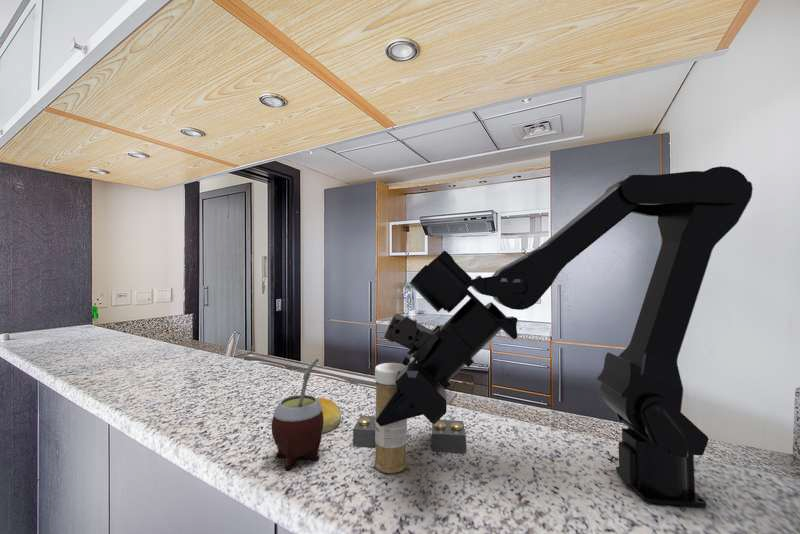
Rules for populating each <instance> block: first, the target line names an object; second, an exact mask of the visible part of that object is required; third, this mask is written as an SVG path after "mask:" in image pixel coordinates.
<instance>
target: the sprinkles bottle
mask: <svg viewBox="0 0 800 534" xmlns="http://www.w3.org/2000/svg"><path fill="white" fill-rule="evenodd" d="M405 367H406V365H404V364H403V363H399V362H385V363H380V364H377V365H376V366H375V369H374V380H375V384H376V385H375V386H376V388H375V412H374V413H375V415H374V416H375V442H376V447H374V448H375V455H374V457H375V458H374V467H375V468H376V469H377V470H378V471H379V472H381V473H384V474H397V473H400V472H402V471H403V470H405V469H406V468H407V465H408V459H407V440H408V437H407V435H408V426H407V425H408V419H405V420H401V421H398V422H395V423H391V424H388V425H385V426H380V425H379V424H378V423H377V422H376V418H377V417H378V416H379V414H380V413H381V411H382V410H383V408H384V407H385V406H386V404H387V403H388V401H389V400H390V399H391V397H392V396H393V394H394V393H395V392H396V390H397V385H396V383H395V381H396V377H397V374H398V372H399V371H400V372H401V371H402V370H403V369H404V368H405Z"/></svg>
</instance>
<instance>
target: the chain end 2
mask: <svg viewBox="0 0 800 534" xmlns="http://www.w3.org/2000/svg"><path fill="white" fill-rule="evenodd" d="M465 428H466V427H465V422H464V421H463V420H452V419H439V420H438V421H437V422H436V423H435V424H433V423H431V451H432V452H443V453H444V452H446V453H462V454H463V453H465V454H467V434H466V429H465Z"/></svg>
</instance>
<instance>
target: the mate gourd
mask: <svg viewBox="0 0 800 534" xmlns="http://www.w3.org/2000/svg"><path fill="white" fill-rule="evenodd" d="M319 361H320V359H319V358H317V359H315V360H314V361H312V362H311V363H310V364H309V366H308V367H307V369H306V370H305V371H304V373H303V377H302V378H303V381H302V386H301V391H300V394H299V395H291V396H289V397H286V398H284V399H282V400H280V402H278V404H277V406H275V410H274V412H273V415H272V416H273V417H272V420H271V434H272V439H273V441H274V443H275V446H276V447H277V453H276V454H275V458H276V459H281V460H286V465H285V466H284V471H285V472H291V470H293V469H294V467H295V466H296V465H297V463H298V462H301V461H303V462H319V460H320V455H318V454H319V453H318V452H319V448H320V446H321V443H322V442H321V441H322V434H323V433H322V430H323V423H324V420H323V411H322V405H321V404H320V402H319V401H318V399H317V397H315V396H312V395H310V394H306V391H307V385H308V382H309V379H310V376H311V371H312V370H313V368H314V367H315V365H316V364H317V363H318V362H319ZM305 394H306V395H305Z"/></svg>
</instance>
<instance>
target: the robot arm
mask: <svg viewBox="0 0 800 534" xmlns="http://www.w3.org/2000/svg"><path fill="white" fill-rule="evenodd" d="M752 198H753V183H752V182H751V180H750V181H748V179H747V177H746V176H745V175H744V173H742V172H740V171H739V170H738V169H735V168H732V167H730V166H721V165H720V166H715V167H711V168H708V169H707V170H703V171H702V170H701V171H700V170H693V171H691V170H690V171H682V172H673V173H664V174H630V175H627V176H625V177H624V178H622V179H620V180H618V181H617V182H615V183H613V184H612V185H610V186H609V187H608V188H607V189H606V190H605V191H604V193H603V194H602V195H601V196H599V197H598V198H597V199H595V200H594V201H593V202H592V203H591V204H589V206H587V207H586V208H585V209H584V210H582V211H581V212H580V213H578V214H577V215H576V216H575V217H574V218H572V219H571V220H570V221H569V222H568V223H567V224H565V225H564V226H563V227H562V228H560V229H559V230H558V231H557V232H556V233H554V234H553V235H552V236H551V237H549V238H548V239H547V240H546V241H544V242H543V243H542V244H541V245H540V246H538V247H537V248H534V249H533V250H531V251H529V252H527V253H526V254H524V255H522V256H520V257H519V258H516V259H515V260H513V261H511V262H509V263H507V264H506V265H503V266H502V267H500V268H498V269H497V270H495V272H494V273H493V274H492V275H491V276H486V277H485V276H484V277H482V275H477V276H476V277H475V278H472V277H471V276H470V275H469V274H468V273H467V272H466V271H465V270H464V269H463V268H462V267H461V266H460V265H459V264H458V263H457V262H456V261H455V259H454V258H453V257H452V255H451V254H450V253H449V252H448V251H446V250H443V251H442V252H441V253H440V254H439V255H438V256H436V257H435V258H433V260H432V261H431V262H429V263H428V265H427V264H425V265H424V266H423V267H422V268H421V269H420V270H419V271H418V272H417V274H415V276H414V277H412V279H411V281H409V285H410V286H411V287H412V288H413V289H414V290H416V292H417V293H418V294H419V295H420V296H421V297H422V299H424V300H425V301H426V302H427V303H428V304H429V305H430V306H431V307H432V308H433V310H435V311H436V312H437V313H439V312H440V311H441V310H443V311H446V312H447V313H449V314H450V313H451V312H452V311H453V310H455V309H456V307H457V306H458V305H460V303H462V301H463V300H464V299H465V298H467V297H469V299H468V300H467V301H466V302H465V304H463V305H462V306H461V307H460V308H459V309H458V310H457V311H456V312H455V313H453V315H452V316H451V317H450V318H449V319H448V320H447V321H446V322H445V323H444V324H440V325H439V324H438V325H436V326H435V327H434V328H433V329H430V328H428V327H426V326H424V325H422V324H421V323H419V322H418V320H417V319H412V318H410V317H409V316H408V315H406V316H405V315H403V314H400V313H395V314H394V315H393V316H392V318H391V321H390V323H389V325H388V327H387V329H386V331H385V333H384V335H383V337H384V339H385V340H387V341H388V342H391V343H396V344H398V345H400V346H403V348H404V347H405V348H406V349H407V354H408V355H409V356H411V355H412V357H411V358H409V357H408V356H404V358H403V360H402V364H404V365H406V367H405V368H404V369H403V370H402V371H401V372H400V371H399V372H398V374H397V377H396V381H395V383H396V385H397V390H396V392H395V393H394V394H393V396H392V397H391V399H390V400H389V401H388V403H387V404H386V406H385V407H384V408H383V410H382V411H381V413H380V414H379V416H378V417H377V418H376V422H377V423H378V424H379V425H380V426H385V425H388V424H391V423H395V422H398V421H401V420H405V419H407V420H408V419H411V418H415V417H419V416H424V417H425V418H426V419H427V421H429V422H430V423H431V424H432V423H433V424H435V423H436V422H437V421H438V420H442V417H444V416H445V415H446V414H447V391H446V390H447V388H449V387H450V386H451V384H452V382H451V379H453V377H454V376H455V375H456V374H458V372H459V371H461V370H462V368H464V367H465V366H466V367H467V368H469V367H470V366H471V365H472V364H473V363H474V359H473V358H474V357H476V355H477V354H478V353H479V352H480V351H481V350H482V349H483V348H484V347H485V346H487V344H488V343H490V341H492V339H493V338H494V337H496V335H498V333H500V332H501V331H503V333H505V334H506V335H507V336H509V338H511V339H512V340H517V338H518V336H519V335H518V330H517V323H518V318H517V317H515V316H506V314H505V313H504V312H503V311H501V310H500V308H498V306H496V305H495V304H494V303H493V301H490V302H488V303H486V305H485V304H483V303H482V301H480V300H479V299H478V298H477V296H475V295H474V293H472V291H470V290H469V288H470V287H471V288H472V289H473V290H474V291H475V292H476V293H478V294H481V295H483V296H488V297H492V298H493V300H494V301H495V302H496V303H498V304H500V305H502V306H504V307H506V308H508V309H511V310H518V311H524V310H527V309H529V308H530V307H533V306H534V305H535V304H537V302H538V301H540V299H541V297H542V296H543V295H544V294H545V293H546V292H547V291H548V290H549V288H550V287H551V286H552V285H553V283H554V282H555V280H556V278H558V275H559V274H560V273H561V271H562V270H563V269H564V268H565V266H567V265H568V264H569V263H570V262H572V260H574V259H575V258H576V257H577V256H579V255H580V254H581V253H583V252H584V251H585V250H586V249H588V248H589V247H590V246H592V245H593V244H594V243H595V242H596V241H597V240H599V239H600V238H601V237H602V236H604V235H605V234H606V233H608V232H609V231H610V230H611V229H612V228H614V226H616V225H618V224H619V223H620V222H621V221H623V219H625V218H626V217H627V216H628V215H630V214H636V215H640V216H643V217H644V216H645V217H654V218H656V217H657V224H658V229H659V232H660V235H661V239H662V240H661V246H660V249H659V252H658V257H657V258H656V262H655V265H654V268H653V272H652V274H651V278H650V279H649V280H650V281H649V284H648V287H647V290H646V291H645V296H644V299H643V302H642V305H641V308H640V311H639V314H638V318H637V321H636V323H635V327H634V329H633V333H632V336H631V340H630V342H629V343H628V346H627V347H626V348H625V349H624V350H623V351H622V352H621V353H620V354H619V355H615V354H614V353H611V352H609V351H608V352H606V354H605V357H604V364H603V368H602V371H601V373H600V374H599V375H598V377H596V380H597V381H598V382H600V386H599V387H600V389H599V390H600V391H599V392H600V396H602V399H603V400H604V403H605V404H606V405H607V406H608V407H609V408H610V409H612V410H613V411H614V413H615V416H616V418H617V420H618V421H619V422H621V423H623V425H625V426H626V427H627V428H621V441H619V442H618V466H616V467H615V472H616V473H617V474H618V475H619V476H620V477H621V478H622V479H623V480H624V481H625V483H626V484H628V485H629V486H630V487H631V488H632V490H633V491H634V492H635V493H636V494H637V495H638V496H639V497H640V498H641V499H642V500H643V501H644V502H646V503H649V504H658V505H659V504H661V505H675V506H687V507H688V506H689V507H700V508H706V507H707V501H706V499H704V498H703V497H702V496H700V495H699V494H698V493H697V492H696V485H695V484H696V482H695V479H696V478H695V461H694V460H695V457H694V456H703V455H704V453H705V450H706V448H707V446H708V444H709V443H708V442H709V437H708V435H706V434H705V433H704V432H703V431H702V430H701V429H700V428H698V426H697V425H695V424H694V422H692V421H691V420H690V419H689V418H688V417H687V416H685V415H684V413H683V412H682V405H683V396H684V387H683V381H682V379H681V373H680V370H679V366H678V358H679V354H680V352H681V349H682V346H683V342H684V339H685V336H686V333H687V330H688V328H689V324H690V321H691V318H692V315H693V311H694V309H695V305H696V303H697V301H698V300H697V299H698V296H699V293H700V290H701V288H702V283H703V281H704V278H705V275H706V272H707V269H708V266H709V262H710V260H711V257H712V252H713V251H714V248H715V246H716V245H717V244H719V242H720V241H721V240H722V239H723V238H724V237H725V236H726V235H727V234H728V233H729V232H730V231H731V230H732V229H733V228H734V227H735V226H736V225H737V224H738V222H739V221H740V220H741V218H742V215H743V214H744V212H745V210H746V208H747V206H748V205H749V204H750V201H751V199H752Z"/></svg>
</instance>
